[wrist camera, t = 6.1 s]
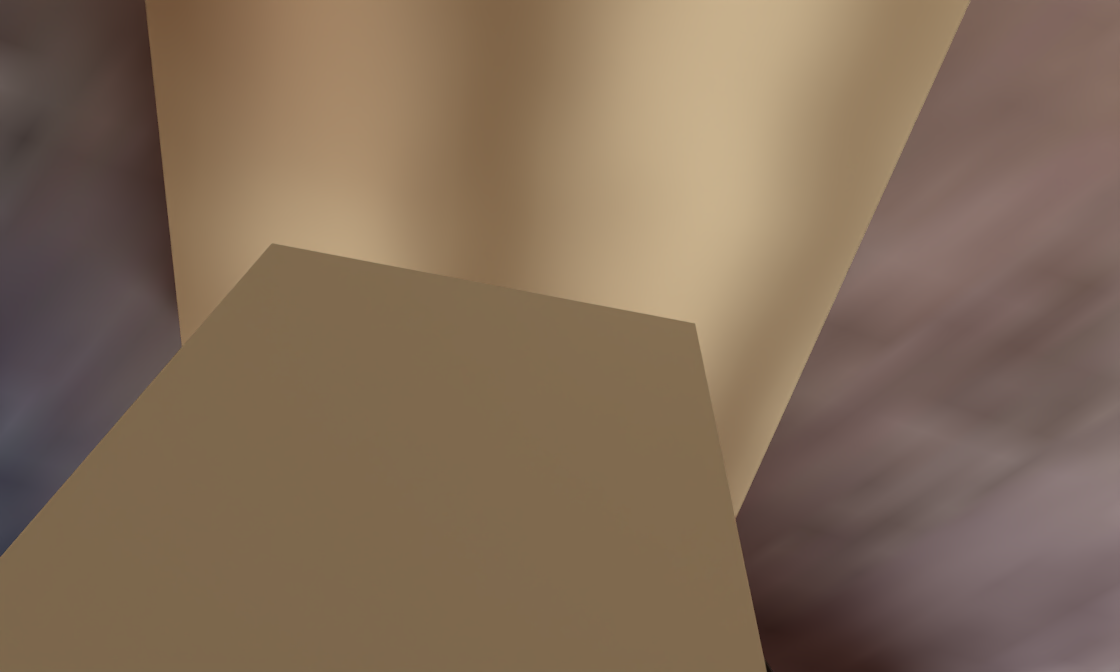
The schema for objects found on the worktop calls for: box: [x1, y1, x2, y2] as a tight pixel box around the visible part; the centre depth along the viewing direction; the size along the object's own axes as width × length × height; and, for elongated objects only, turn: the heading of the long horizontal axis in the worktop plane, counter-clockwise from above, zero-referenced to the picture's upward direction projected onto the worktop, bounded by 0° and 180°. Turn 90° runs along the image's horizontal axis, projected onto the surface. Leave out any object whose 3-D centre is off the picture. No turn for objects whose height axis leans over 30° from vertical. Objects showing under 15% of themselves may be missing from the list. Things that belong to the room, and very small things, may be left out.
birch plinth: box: [145, 0, 970, 519], centre depth 17 cm, size 14×14×3 cm
